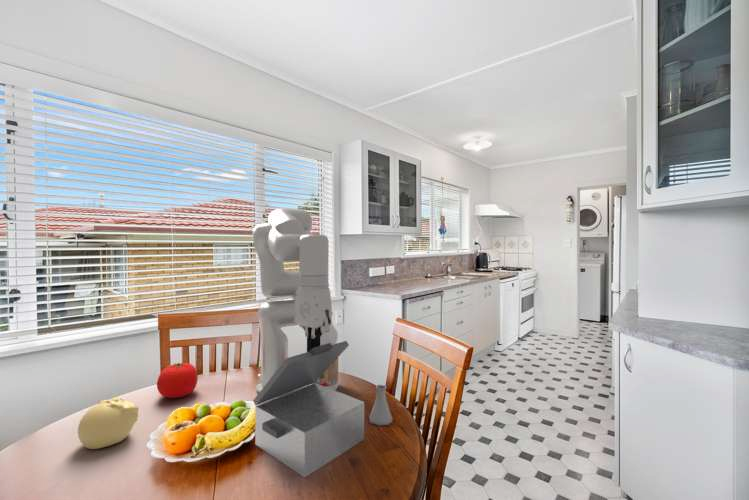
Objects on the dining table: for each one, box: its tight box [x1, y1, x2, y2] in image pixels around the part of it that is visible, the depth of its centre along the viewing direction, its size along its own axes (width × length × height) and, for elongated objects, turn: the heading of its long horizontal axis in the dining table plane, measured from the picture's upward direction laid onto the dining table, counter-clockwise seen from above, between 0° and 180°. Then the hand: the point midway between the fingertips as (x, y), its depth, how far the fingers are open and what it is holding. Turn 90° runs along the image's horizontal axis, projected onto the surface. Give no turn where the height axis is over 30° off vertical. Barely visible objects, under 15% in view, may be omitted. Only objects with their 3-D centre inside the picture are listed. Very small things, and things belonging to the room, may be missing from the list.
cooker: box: [254, 383, 365, 478], centre depth 90 cm, size 20×25×10 cm
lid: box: [253, 340, 350, 406], centre depth 92 cm, size 22×20×4 cm
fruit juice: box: [313, 320, 339, 391], centre depth 125 cm, size 9×9×28 cm
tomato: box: [156, 362, 199, 399], centre depth 118 cm, size 12×13×11 cm
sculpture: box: [77, 396, 139, 450], centre depth 90 cm, size 11×12×11 cm
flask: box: [368, 384, 394, 426], centre depth 102 cm, size 7×7×10 cm
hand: (313, 352), depth 89 cm, fingers closed
